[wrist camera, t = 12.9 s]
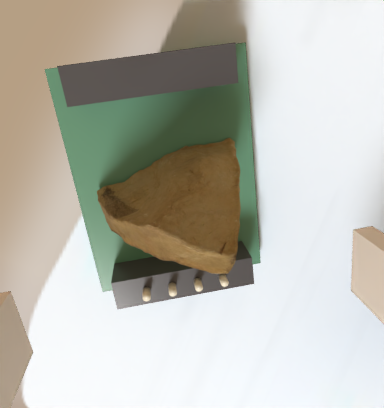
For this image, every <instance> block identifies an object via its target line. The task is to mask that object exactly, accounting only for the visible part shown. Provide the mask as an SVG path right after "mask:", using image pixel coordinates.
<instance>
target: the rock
mask: <svg viewBox="0 0 384 408" xmlns="http://www.w3.org/2000/svg"><path fill="white" fill-rule="evenodd" d="M239 184H240V166H239V162H238V159H237V157H236V148H235V142H234V141H233V140H232V139H231V138H227V139H225V140H224V141H222V142H217V143H209V144H206V145H194V146H190V147H188V146H184V147H183V148H181V149H179V150H177V151H175V152H172V153H170V154H167V155H164V156H163V157H162V158H161V159H159V160H157V161H155V162H153V163H152V165H151V166H149V167H147V168H145V169H144V170H139V171H138V172H136V173H135V174H133V175H132V176H131V177H130V178H129V179H127V180H126V181H125V182H122V183H116V184H113V185H107V186H104V187H102V188H101V189H100V190H98V191H97V195H98V202H99V204H100V206H101V208H102V211H103V213H104V215H105V219H106V222H107V223H108V225H109V227H110V229H111V231H113V232H114V233H116V234H118V235H119V236H120V237H122V239H123V241H124V242H125V243H127V244H129V245H131V246H133V247H136V248H139V249H141V250H142V251H144V252H145V253H149V254H151V255H152V256H154V257H156V258H158V259H160V260H164V261H174V262H177V263H179V264H182V265H185V266H188V267H191V268H195V269H199V270H203V271H207V272H209V273H212V274H223V273H225V274H227V273H229V272H230V270H231V269H232V267H233V266H234V264H235V261H236V256H237V250H238V235H239V229H240V221H239V219H240V210H241V207H240V194H239V193H240V187H239Z"/></svg>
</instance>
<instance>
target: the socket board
mask: <svg viewBox="0 0 384 408" xmlns="http://www.w3.org/2000/svg"><path fill="white" fill-rule="evenodd" d="M45 72H46V76H47V80H48V84H49V88H50V91H51V95H52V99H53V103H54V107H55V111H56V114H57V118H58V122H59V126H60V130H61V134H62V138H63V141H64V145H65V149H66V153H67V156H68V160H69V164H70V168H71V172H72V175H73V180H74V183H75V187H76V191H77V195H78V198H79V203H80V206H81V210H82V214H83V218H84V222H85V226H86V229H87V233H88V237H89V241H90V245H91V249H92V252H93V256H94V260H95V264H96V268H97V272H98V275H99V279H100V283H101V287H102V291H103V292H105V291H110V290H113V293H114V297H115V301H116V305H117V309H122V308H127V307H132V306H138V305H143V304H148V303H153V302H159V301H164V300H169V299H175V298H180V297H185V296H191V295H196V294H201V293H207V292H212V291H217V290H223V289H228V288H233V287H239V286H244V285H249V284H254V278H253V265H252V264H257V263H260V250H259V235H258V220H257V205H256V191H255V176H254V161H253V146H252V131H251V117H250V102H249V87H248V72H247V58H246V43H238V44H235V43H229V44H221V45H214V46H206V47H199V48H191V49H184V50H176V51H169V52H161V53H154V54H146V55H139V56H131V57H123V58H116V59H108V60H101V61H94V62H86V63H79V64H71V65H63V66H57V68H51V69H45ZM227 138H231V139H232V140H233V141H234V142H235V148H236V157H237V159H238V162H239V166H240V184H239V187H240V193H239V194H240V207H241V210H240V219H239V221H240V229H239V235H238V250H237V256H236V261H235V264H234V266H233V267H232V269H231V270H230V272H229V273H227V274H225V273H223V274H212V273H209V272H207V271H203V270H199V269H195V268H191V267H188V266H185V265H182V264H179V263H177V262H174V261H164V260H160V259H158V258H156V257H154V256H152V255H151V254H149V253H145V252H144V251H142V250H141V249H139V248H136V247H133V246H131V245H129V244H127V243H125V242H124V241H123V239H122V237H120V236H119V235H118V234H116V233H114V232H113V231H111V229H110V227H109V225H108V223H107V222H106V219H105V215H104V213H103V211H102V208H101V206H100V204H99V202H98V195H97V191H98V190H100V189H101V188H102V187H104V186H107V185H113V184H116V183H122V182H125V181H126V180H127V179H129V178H130V177H131V176H132V175H133V174H135V173H136V172H138V171H139V170H144V169H145V168H147V167H149V166H151V165H152V163H153V162H155V161H157V160H159V159H161V158H162V157H163V156H164V155H167V154H170V153H172V152H175V151H177V150H179V149H181V148H183V147H184V146H188V147H190V146H194V145H206V144H209V143H217V142H222V141H224V140H225V139H227Z"/></svg>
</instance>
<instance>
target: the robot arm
mask: <svg viewBox="0 0 384 408" xmlns="http://www.w3.org/2000/svg"><path fill="white" fill-rule="evenodd" d="M351 291H352V292H353V293H354V294H355V295H356V296H357V297H358V298H359V299H360V300H361V301H362V302H363V303H364V304H365V305H366V306H367V307H368V309H369V310H370V311H371V312H372V313H373V314H374V315H375V316H376V317H377V318H378V319H379V320H380V321H381V322H382V323H383V324H384V233H382V232H381V231H379V230H377V229H376V228H374V227H373V226H371V227H365V228H360V229H354V230H353V251H352V277H351ZM32 354H33V350H32V347H31V345H30V342H29V339H28V337H27V334H26V331H25V329H24V326H23V323H22V321H21V318H20V315H19V312H18V310H17V307H16V305H15V302H14V299H13V296H12V294H11V291H8V292H3V293H0V408H10V407H11V405H12V402H13V400H14V398H15V395H16V393H17V390H18V388H19V385H20V383H21V381H22V378H23V376H24V373H25V371H26V368H27V366H28V363H29V361H30V359H31V356H32Z"/></svg>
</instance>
